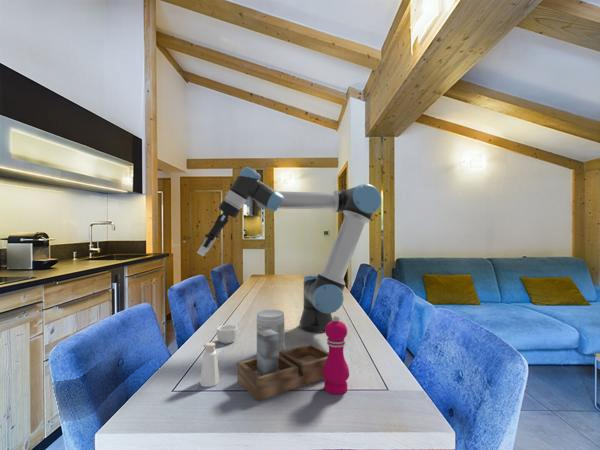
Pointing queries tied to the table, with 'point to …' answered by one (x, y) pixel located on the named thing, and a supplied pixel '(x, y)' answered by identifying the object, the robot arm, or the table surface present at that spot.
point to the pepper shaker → (209, 366)
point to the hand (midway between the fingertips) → (202, 252)
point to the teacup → (227, 333)
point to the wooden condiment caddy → (280, 367)
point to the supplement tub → (272, 324)
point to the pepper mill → (336, 358)
